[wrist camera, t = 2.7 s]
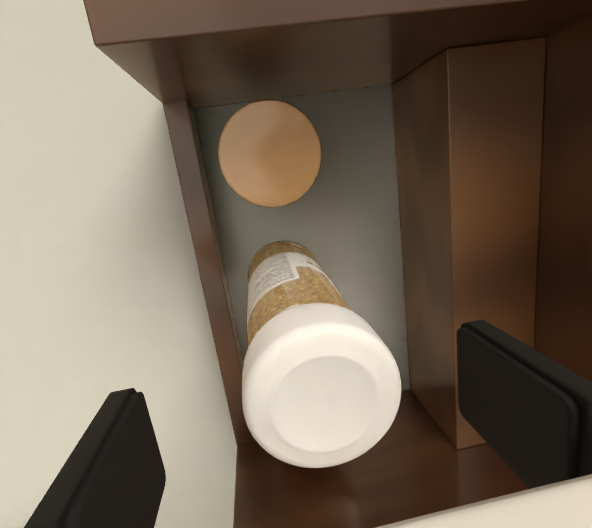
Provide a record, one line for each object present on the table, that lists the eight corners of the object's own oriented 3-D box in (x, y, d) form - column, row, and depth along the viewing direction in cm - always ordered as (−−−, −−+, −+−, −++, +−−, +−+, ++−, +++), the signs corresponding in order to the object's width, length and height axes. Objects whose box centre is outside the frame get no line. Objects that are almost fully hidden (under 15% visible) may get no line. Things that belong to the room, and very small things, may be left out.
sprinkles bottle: (330, 282, 23) (434, 418, 10) (272, 320, 23) (300, 503, 10) (292, 224, 22) (356, 293, 9) (231, 265, 22) (205, 391, 9)
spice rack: (166, 87, 19) (38, -50, 8) (477, 51, 21) (765, -108, 9) (240, 438, 25) (233, 664, 13) (479, 389, 27) (655, 552, 15)
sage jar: (220, 126, 20) (208, 105, 14) (296, 116, 20) (315, 92, 15) (234, 204, 21) (228, 214, 15) (306, 193, 21) (327, 199, 16)
